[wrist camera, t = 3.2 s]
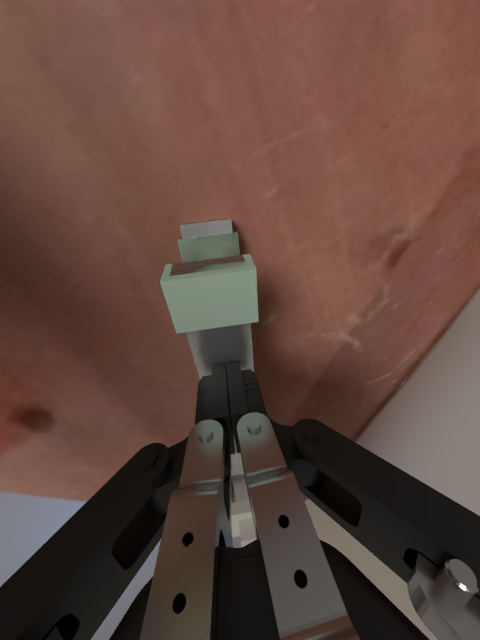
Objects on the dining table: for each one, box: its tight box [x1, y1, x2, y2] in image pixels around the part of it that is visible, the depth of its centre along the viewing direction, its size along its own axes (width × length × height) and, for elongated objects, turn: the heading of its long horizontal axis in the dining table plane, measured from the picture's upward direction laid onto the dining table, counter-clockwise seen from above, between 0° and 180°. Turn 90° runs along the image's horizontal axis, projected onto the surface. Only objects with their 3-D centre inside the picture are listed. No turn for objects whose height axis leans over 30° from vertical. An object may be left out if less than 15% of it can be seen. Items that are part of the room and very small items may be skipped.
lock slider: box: [231, 485, 256, 547], centre depth 23 cm, size 4×6×6 cm
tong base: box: [177, 219, 249, 502], centre depth 20 cm, size 31×4×3 cm, turn 6°
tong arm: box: [160, 254, 259, 476], centre depth 15 cm, size 20×4×2 cm, turn 6°
